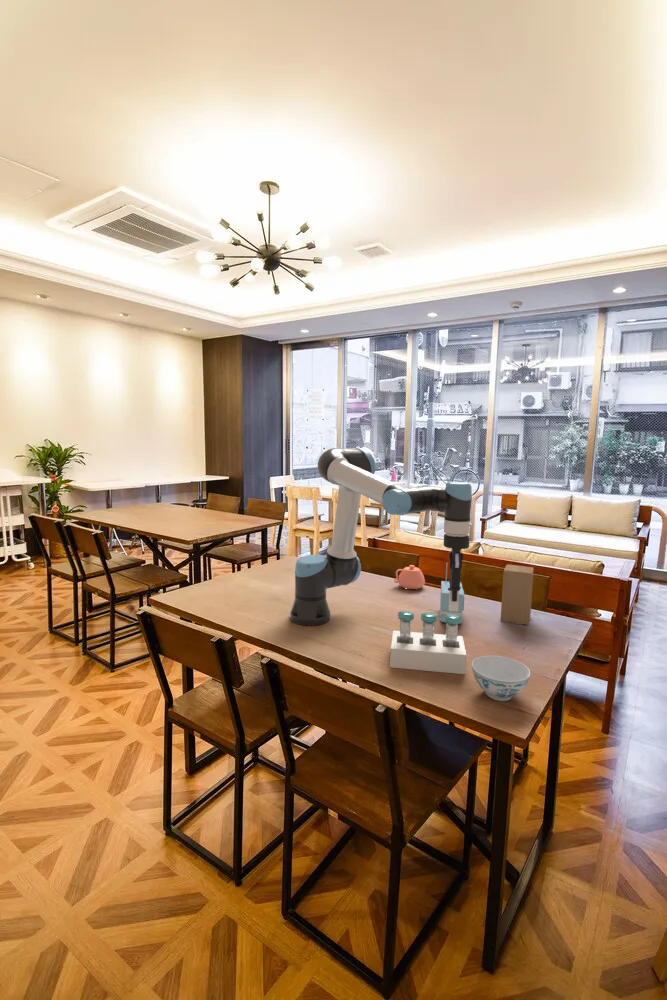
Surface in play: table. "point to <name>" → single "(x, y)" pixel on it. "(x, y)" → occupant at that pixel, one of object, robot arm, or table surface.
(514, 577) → the wooden block
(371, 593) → the table surface
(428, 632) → the knob mid
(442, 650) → the mount
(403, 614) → the knob
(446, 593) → the radio
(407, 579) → the pink teapot
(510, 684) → the chinaware
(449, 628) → the knob
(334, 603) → the table surface
